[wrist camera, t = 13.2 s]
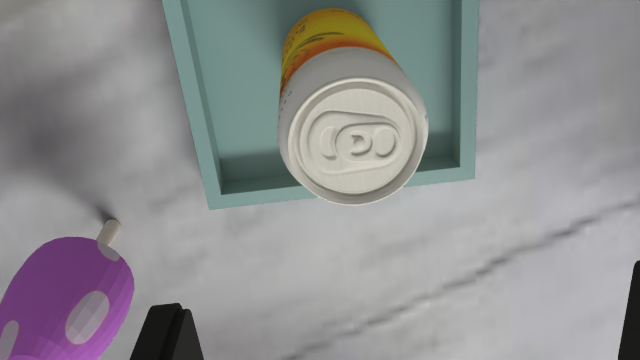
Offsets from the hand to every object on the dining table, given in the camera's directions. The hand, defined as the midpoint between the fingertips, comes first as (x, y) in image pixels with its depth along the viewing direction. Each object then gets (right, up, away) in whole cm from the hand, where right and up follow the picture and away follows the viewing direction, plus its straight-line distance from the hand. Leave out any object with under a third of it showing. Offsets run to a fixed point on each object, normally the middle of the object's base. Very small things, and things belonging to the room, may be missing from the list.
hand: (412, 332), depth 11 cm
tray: (-2, +12, +23) cm, 26 cm away
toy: (-17, 0, +29) cm, 33 cm away
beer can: (-1, +11, +23) cm, 25 cm away
